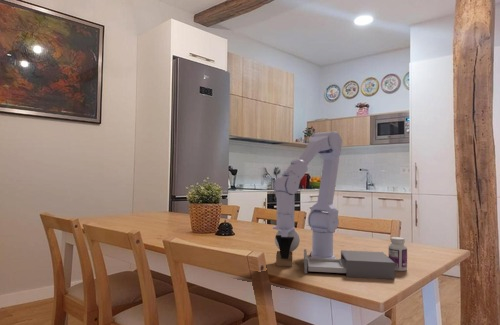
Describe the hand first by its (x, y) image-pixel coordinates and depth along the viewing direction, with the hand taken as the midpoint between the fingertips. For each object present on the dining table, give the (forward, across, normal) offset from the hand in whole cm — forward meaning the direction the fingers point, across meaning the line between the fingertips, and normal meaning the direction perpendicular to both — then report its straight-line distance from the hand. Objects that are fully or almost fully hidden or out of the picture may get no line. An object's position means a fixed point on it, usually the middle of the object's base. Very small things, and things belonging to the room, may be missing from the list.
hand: (285, 255), depth 117 cm
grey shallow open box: (+3, +4, +13) cm, 14 cm away
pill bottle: (+3, -1, +35) cm, 35 cm away
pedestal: (+2, 0, 0) cm, 3 cm away
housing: (+3, +4, +24) cm, 25 cm away
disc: (-5, -2, +1) cm, 5 cm away
